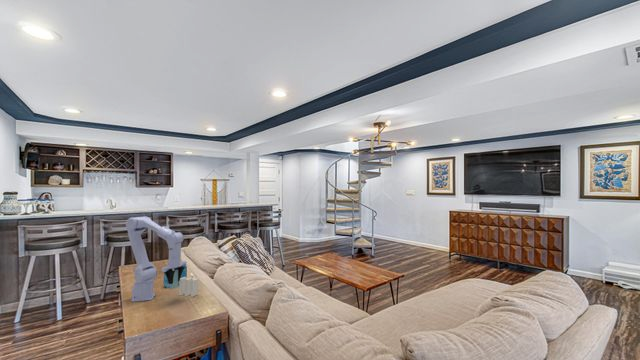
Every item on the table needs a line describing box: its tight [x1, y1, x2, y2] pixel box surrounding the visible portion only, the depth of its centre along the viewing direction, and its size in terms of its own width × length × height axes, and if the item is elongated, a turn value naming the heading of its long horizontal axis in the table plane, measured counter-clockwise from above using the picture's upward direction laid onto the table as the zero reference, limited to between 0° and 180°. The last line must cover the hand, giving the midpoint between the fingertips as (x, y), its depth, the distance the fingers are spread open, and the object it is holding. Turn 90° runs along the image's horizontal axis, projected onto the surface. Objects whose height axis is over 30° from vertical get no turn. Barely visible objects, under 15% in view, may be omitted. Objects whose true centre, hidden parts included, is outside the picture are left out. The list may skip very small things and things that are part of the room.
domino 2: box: [184, 277, 193, 297], centre depth 157 cm, size 1×4×9 cm, turn 162°
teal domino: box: [169, 270, 179, 290], centre depth 148 cm, size 1×4×9 cm, turn 162°
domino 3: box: [190, 278, 199, 298], centre depth 155 cm, size 1×4×9 cm, turn 162°
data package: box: [163, 264, 188, 289], centre depth 173 cm, size 12×4×12 cm, turn 133°
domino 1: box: [178, 277, 188, 296], centre depth 158 cm, size 1×4×9 cm, turn 162°
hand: (174, 282), depth 148 cm, fingers closed on teal domino, 4 cm apart
